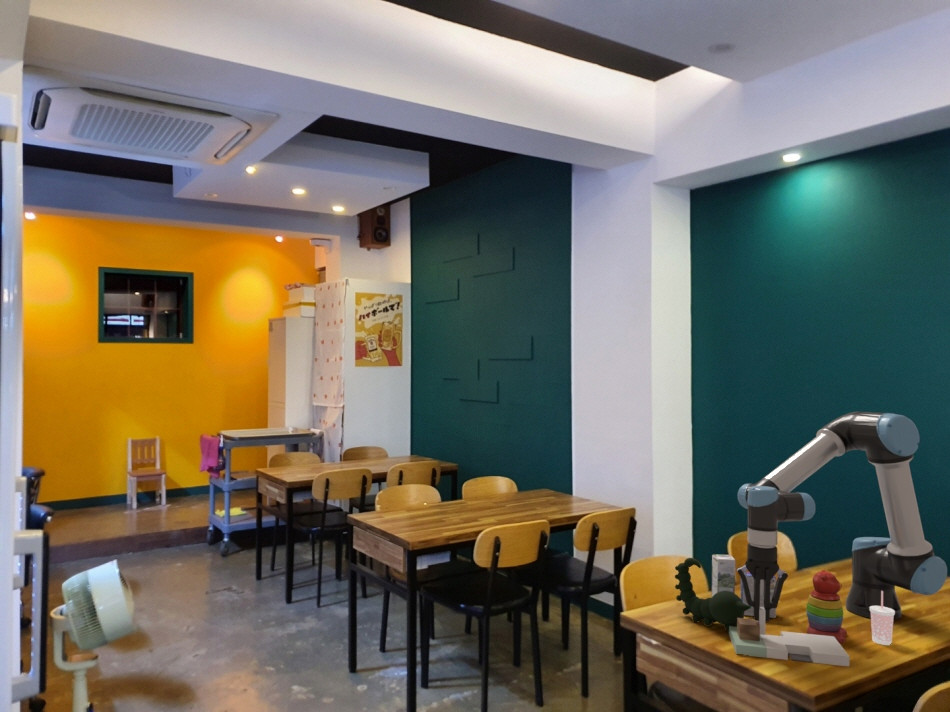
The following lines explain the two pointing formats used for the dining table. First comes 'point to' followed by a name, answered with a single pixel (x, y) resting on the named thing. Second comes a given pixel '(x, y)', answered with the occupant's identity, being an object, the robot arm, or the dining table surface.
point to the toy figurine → (708, 601)
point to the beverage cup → (882, 623)
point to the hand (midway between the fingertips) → (761, 632)
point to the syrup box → (723, 573)
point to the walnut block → (748, 629)
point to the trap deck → (792, 647)
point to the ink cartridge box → (751, 588)
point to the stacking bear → (825, 607)
